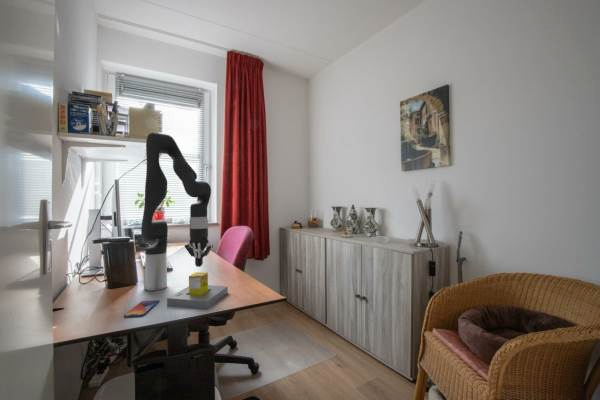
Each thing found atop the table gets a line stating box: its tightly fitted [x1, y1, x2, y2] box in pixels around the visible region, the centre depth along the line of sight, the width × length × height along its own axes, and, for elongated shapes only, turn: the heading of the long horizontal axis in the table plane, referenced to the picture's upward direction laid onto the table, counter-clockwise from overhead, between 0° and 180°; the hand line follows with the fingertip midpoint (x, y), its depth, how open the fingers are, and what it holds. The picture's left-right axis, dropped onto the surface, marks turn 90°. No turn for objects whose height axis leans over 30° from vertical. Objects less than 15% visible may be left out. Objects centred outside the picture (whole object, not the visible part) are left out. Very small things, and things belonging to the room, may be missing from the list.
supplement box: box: [188, 271, 209, 296], centre depth 117 cm, size 6×6×11 cm
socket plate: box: [166, 284, 229, 310], centre depth 117 cm, size 18×18×3 cm
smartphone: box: [123, 299, 160, 319], centre depth 107 cm, size 7×15×1 cm, turn 6°
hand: (199, 266), depth 117 cm, fingers closed
